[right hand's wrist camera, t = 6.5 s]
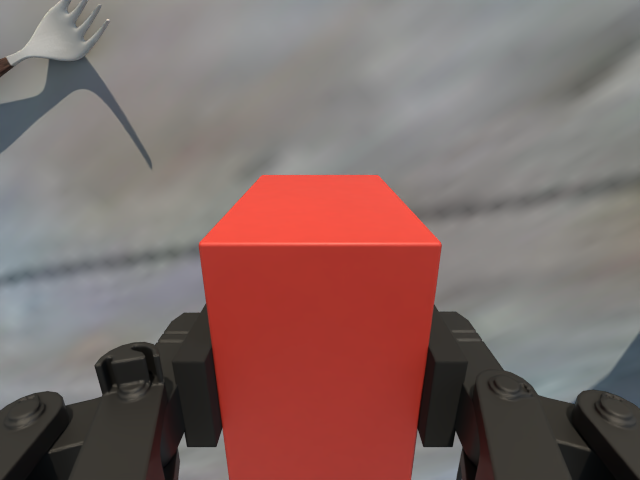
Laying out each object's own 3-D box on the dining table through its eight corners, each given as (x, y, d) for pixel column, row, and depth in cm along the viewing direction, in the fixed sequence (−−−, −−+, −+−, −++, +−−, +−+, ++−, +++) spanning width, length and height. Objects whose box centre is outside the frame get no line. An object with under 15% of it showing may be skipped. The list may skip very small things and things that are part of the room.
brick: (379, 174, 16) (443, 242, 7) (369, 326, 18) (409, 497, 10) (261, 174, 16) (197, 242, 7) (270, 326, 18) (230, 497, 10)
